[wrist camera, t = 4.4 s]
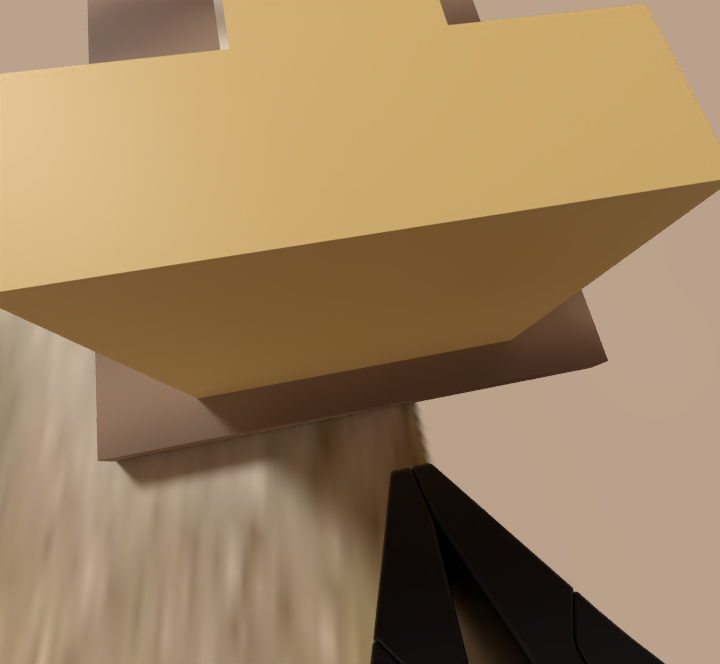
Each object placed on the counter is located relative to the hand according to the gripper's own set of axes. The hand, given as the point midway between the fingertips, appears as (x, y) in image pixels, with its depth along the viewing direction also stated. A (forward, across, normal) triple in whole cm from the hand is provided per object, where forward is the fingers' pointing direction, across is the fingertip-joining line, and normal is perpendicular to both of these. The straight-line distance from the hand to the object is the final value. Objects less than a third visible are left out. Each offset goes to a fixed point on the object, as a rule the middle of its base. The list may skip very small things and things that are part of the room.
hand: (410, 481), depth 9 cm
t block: (+12, 0, -2) cm, 12 cm away
